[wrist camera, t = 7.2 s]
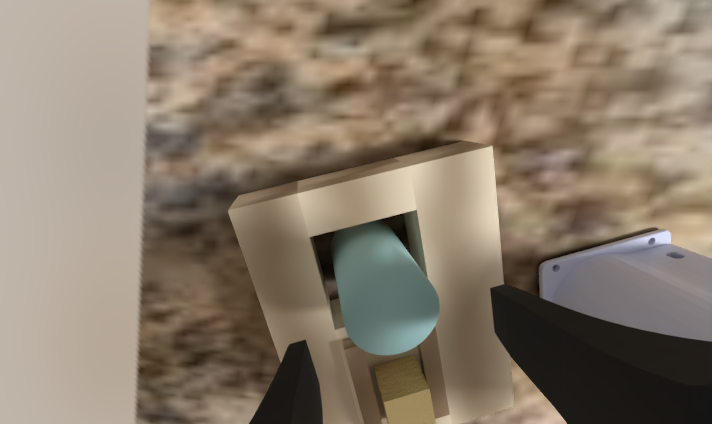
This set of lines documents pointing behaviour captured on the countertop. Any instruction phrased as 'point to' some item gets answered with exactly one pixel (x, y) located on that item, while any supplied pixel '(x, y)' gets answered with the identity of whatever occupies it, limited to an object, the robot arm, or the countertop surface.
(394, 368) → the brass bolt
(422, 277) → the teal peg
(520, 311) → the robot arm
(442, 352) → the dock plate
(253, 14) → the countertop surface
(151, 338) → the countertop surface
